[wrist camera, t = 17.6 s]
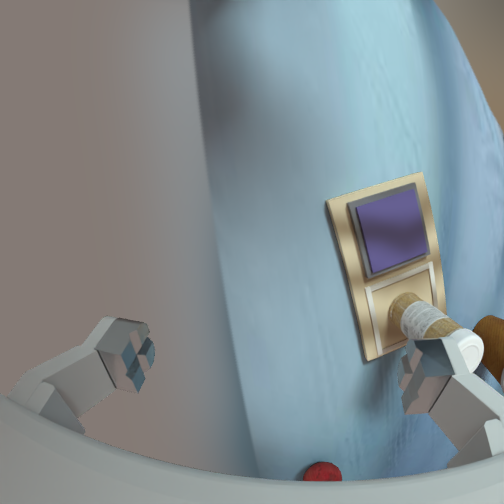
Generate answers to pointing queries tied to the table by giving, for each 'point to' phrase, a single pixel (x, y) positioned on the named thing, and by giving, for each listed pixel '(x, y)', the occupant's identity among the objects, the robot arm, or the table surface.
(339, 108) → the table surface
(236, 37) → the table surface
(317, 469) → the onion
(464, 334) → the sprinkles bottle
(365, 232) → the stamp station
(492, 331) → the disposable coffee cup
